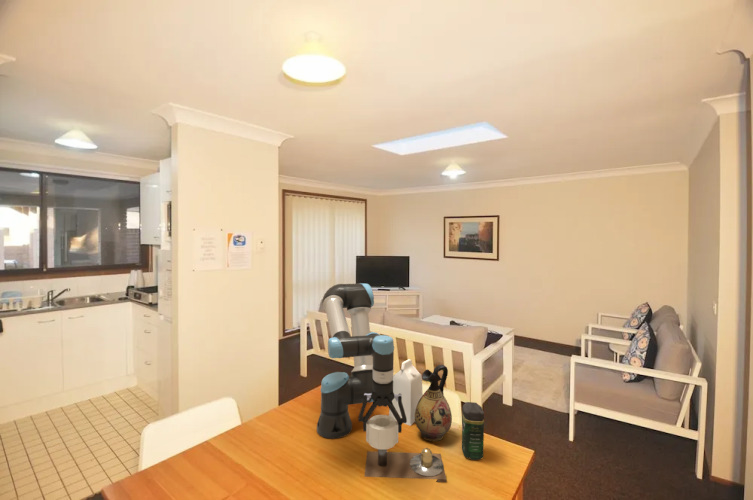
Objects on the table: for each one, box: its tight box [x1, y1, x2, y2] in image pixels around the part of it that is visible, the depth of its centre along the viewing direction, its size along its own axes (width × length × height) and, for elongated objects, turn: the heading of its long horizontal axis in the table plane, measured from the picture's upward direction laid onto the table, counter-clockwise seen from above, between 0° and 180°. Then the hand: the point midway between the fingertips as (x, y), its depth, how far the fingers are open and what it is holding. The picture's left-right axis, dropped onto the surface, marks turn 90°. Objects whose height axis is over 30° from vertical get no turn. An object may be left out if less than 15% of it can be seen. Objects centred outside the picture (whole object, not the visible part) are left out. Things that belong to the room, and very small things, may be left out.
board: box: [364, 450, 447, 483], centre depth 124 cm, size 28×14×1 cm, turn 88°
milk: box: [388, 358, 424, 427], centre depth 160 cm, size 12×12×26 cm
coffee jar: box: [461, 401, 485, 461], centre depth 132 cm, size 10×8×19 cm
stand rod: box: [377, 449, 388, 467], centre depth 124 cm, size 3×3×10 cm
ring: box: [367, 414, 397, 450], centre depth 124 cm, size 10×10×7 cm
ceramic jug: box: [414, 364, 453, 442], centre depth 144 cm, size 17×15×30 cm
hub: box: [410, 447, 445, 477], centre depth 124 cm, size 12×12×6 cm
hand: (382, 440), depth 124 cm, fingers closed on ring, 10 cm apart
